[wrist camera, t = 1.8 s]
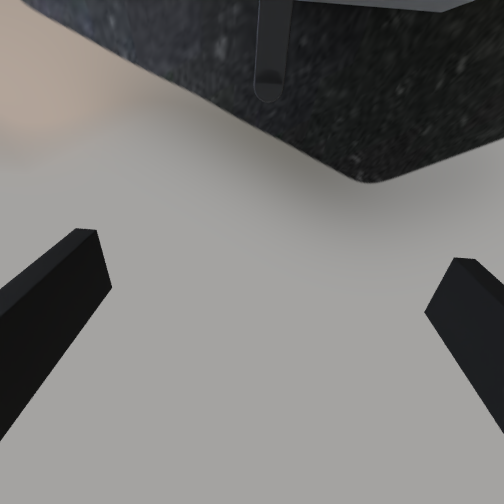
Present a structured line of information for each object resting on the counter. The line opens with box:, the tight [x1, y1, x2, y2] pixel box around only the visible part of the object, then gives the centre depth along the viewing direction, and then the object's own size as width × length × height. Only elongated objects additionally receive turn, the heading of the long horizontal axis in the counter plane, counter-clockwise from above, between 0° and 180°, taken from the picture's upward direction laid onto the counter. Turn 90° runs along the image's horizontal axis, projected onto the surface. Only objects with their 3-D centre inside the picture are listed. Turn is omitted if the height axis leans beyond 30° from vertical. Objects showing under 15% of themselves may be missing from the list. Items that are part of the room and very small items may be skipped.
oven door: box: [254, 0, 474, 102], centre depth 17 cm, size 7×15×14 cm, turn 86°
